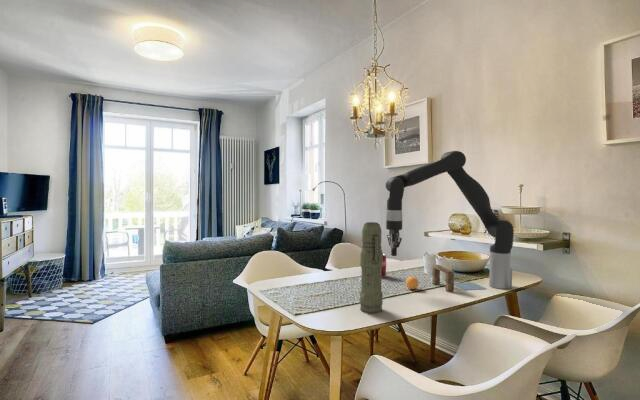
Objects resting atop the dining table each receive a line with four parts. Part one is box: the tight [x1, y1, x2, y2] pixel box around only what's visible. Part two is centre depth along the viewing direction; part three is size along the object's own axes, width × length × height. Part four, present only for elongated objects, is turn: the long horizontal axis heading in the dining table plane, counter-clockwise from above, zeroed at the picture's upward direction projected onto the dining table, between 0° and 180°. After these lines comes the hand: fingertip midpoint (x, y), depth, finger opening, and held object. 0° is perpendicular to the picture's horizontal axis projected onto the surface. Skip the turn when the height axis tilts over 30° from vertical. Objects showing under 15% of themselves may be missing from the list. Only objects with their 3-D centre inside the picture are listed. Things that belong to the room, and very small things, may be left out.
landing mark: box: [454, 281, 488, 291], centre depth 179 cm, size 12×12×1 cm
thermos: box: [359, 221, 384, 315], centre depth 143 cm, size 9×12×35 cm
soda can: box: [381, 253, 387, 279], centre depth 198 cm, size 7×7×12 cm
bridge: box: [431, 264, 455, 293], centre depth 176 cm, size 3×15×10 cm, turn 10°
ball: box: [405, 276, 420, 290], centre depth 173 cm, size 6×6×6 cm
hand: (393, 255), depth 171 cm, fingers closed
